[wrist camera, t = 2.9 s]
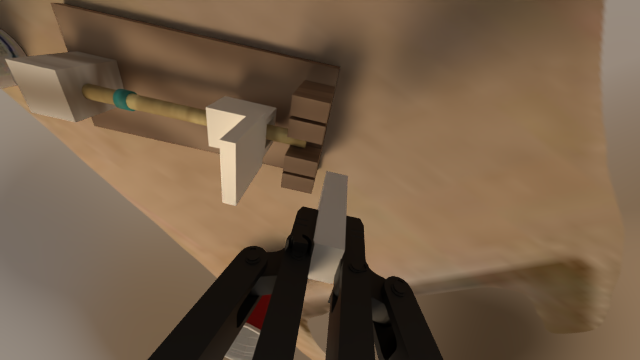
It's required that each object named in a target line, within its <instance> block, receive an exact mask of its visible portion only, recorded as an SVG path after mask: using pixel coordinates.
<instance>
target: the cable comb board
mask: <svg viewBox="0 0 640 360" xmlns="http://www.w3.org/2000/svg"><path fill="white" fill-rule="evenodd" d="M51 5H52V8H53V11H54V14H55V16H56V19H57V22H58V25H59V28H60V30H61V33H62V36H63V39H64V42H65V44H66V47H67V50H68V52H66V53H57V54H47V55H37V56H28V57H18V58H8V59H5V60H6V62H7V64H8V66H9V68H10V70H11V77H12V80H13V81H14V82H15V84H17V85H18V86H19V88H20V91H21V93H22V95H23V97H24V99H25V101H26V103H27V105H28V107H29V109H30V111H31V113H36V114H40V115H45V116H49V117H54V118H58V119H63V120H67V121H72V122H78V121H81V120H84V119H86V118H89V117H92V120H93V123H94V126H98V127H102V128H106V129H111V130H115V131H120V132H124V133H129V134H133V135H138V136H142V137H146V138H151V139H155V140H160V141H164V142H169V143H173V144H178V145H182V146H187V147H191V148H195V149H200V150H204V151H209V152H213V153H218V154H220V148H215V147H211V146H209V143H208V130H207V118H206V107H207V106H209V105H210V104H212V103H214V102H216V101H217V100H219V99H221V98H223V97H224V96H227V97H231V98H236V99H240V100H244V101H249V102H253V103H258V104H262V105H266V106H271V107H275V108H277V109H276V120H275V126H274V125H269V124H267V129H266V139H267V140H271V141H274V142H273V143H272V145H271V146H270V148H269V149H268V151H267V152H266V154H265V156H264V157H263V161H262V164H267V165H271V166H276V167H280V168H283V174H282V182H281V187H283V188H288V189H292V190H297V191H301V192H306V193H310V194H311V193H312V189H313V185H314V181H315V176H316V173H317V169H318V165H319V160H320V155H321V151H322V146H323V142H324V137H325V133H326V128H327V123H328V119H329V114H330V110H331V105H332V100H333V96H334V91H335V87H336V82H337V77H338V73H339V68H340V67H337V66H333V65H328V64H324V63H320V62H315V61H311V60H307V59H302V58H298V57H294V56H289V55H285V54H281V53H276V52H272V51H268V50H263V49H259V48H255V47H250V46H246V45H241V44H237V43H233V42H228V41H224V40H220V39H215V38H211V37H207V36H202V35H198V34H194V33H189V32H185V31H181V30H176V29H172V28H168V27H163V26H159V25H154V24H150V23H146V22H141V21H137V20H133V19H128V18H124V17H120V16H115V15H111V14H107V13H102V12H98V11H94V10H89V9H85V8H80V7H76V6H72V5H67V4H61V3H51Z"/></svg>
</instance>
